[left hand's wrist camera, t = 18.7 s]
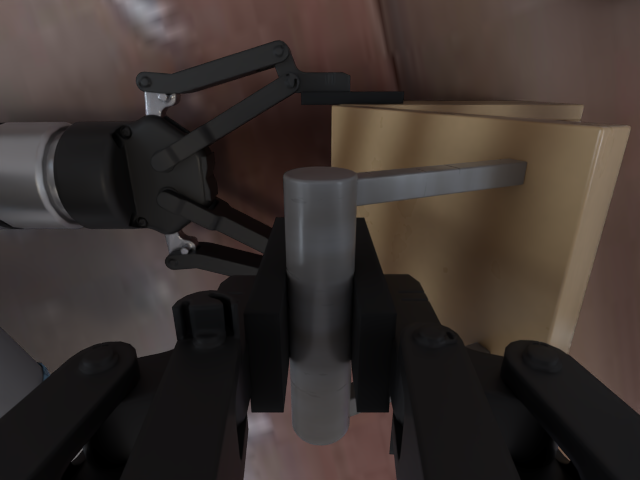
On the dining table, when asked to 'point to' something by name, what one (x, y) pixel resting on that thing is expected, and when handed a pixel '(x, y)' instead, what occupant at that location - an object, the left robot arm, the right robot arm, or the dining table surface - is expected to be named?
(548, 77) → the dining table surface
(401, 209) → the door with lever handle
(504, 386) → the left robot arm
